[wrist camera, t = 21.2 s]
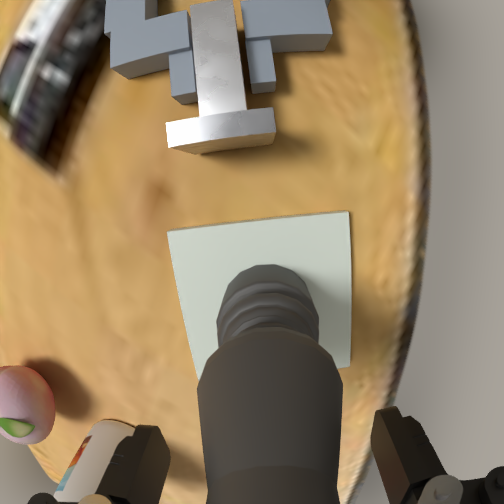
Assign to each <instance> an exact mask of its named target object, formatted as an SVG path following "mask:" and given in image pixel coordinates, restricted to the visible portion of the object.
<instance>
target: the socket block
mask: <svg viewBox="0 0 504 504" xmlns="http://www.w3.org/2000/svg"><path fill="white" fill-rule="evenodd" d="M240 2H241V10H242V17H243V24H244V31H245V38H246V41H245V43H246V51H247V58H248V66H249V73H250V81H251V89H252V94H256V93H266V92H275V86H276V75H275V69H274V62H273V56H272V53H277V52H294V51H324V50H325V48H326V46H327V44H328V42H329V40H330V38H331V36H332V35H333V32H332V28H331V24H330V20H329V16H328V11H327V7H328V5H329V2H330V0H246V1H240ZM104 34H105V35H106V36H108V37H109V38H110V39H111V42H110V68H111V69H113V70H115V71H116V72H118V73H119V74H121V75H122V76H124V77H126V78H127V79H131V78H134V77H138V76H142V75H145V74H149V73H153V72H157V71H161V70H165V69H170V82H171V94H172V97H173V98H174V99H175V100H177V101H178V102H179V103H180V104H181V105H183V104H188V103H194V102H198V94H197V84H196V73H195V62H194V51H193V39H192V27H191V18H190V16H189V14H188V12H187V10H184V11H179V12H175V13H171V14H167V15H163V16H159V17H158V2H157V0H106V10H105V29H104Z"/></svg>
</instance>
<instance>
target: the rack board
mask: <svg viewBox="0 0 504 504" xmlns="http://www.w3.org/2000/svg"><path fill="white" fill-rule="evenodd" d="M167 235H168V241H169V247H170V253H171V259H172V264H173V269H174V275H175V280H176V285H177V290H178V295H179V300H180V305H181V309H182V314H183V318H184V323H185V327H186V332H187V336H188V340H189V345H190V349H191V353H192V357H193V361H194V365H195V369H196V373H197V377H198V381H199V380H200V377H201V375H202V372H203V369H204V366H205V364H206V361H207V359H208V358H209V357H210V356H211V355H212V354H213V353H214V352H215V351H216V350H217V349H218V339H217V324H216V320H217V317H218V313H219V310H220V307H221V303H222V300H223V297H224V294H225V292H226V289H227V286H228V284H229V283H230V282H231V281H232V280H233V279H234V278H235V277H236V276H237V275H238V274H239V273H240V272H241V271H244V270H246V269H248V268H251V267H253V266H255V265H266V264H276V265H279V266H282V267H284V268H287V269H290V270H292V271H293V272H295V273H296V274H297V275H298V276H299V277H300V278H301V279H302V280H303V281H304V282H305V284H306V286H307V288H308V291H309V293H310V295H311V298H312V300H313V303H314V305H315V308H316V311H317V313H318V316H319V345H320V346H322V347H323V348H324V349H325V350H326V351H327V352H328V353H329V354H331V355H332V358H333V360H334V362H335V365H336V367H337V369H338V368H345V367H350V351H351V306H352V293H351V247H350V226H349V212H347V211H345V210H343V211H331V212H320V213H310V214H300V215H290V216H280V217H270V218H261V219H252V220H243V221H234V222H225V223H217V224H209V225H200V226H192V227H184V228H177V229H171V230H169V231H167Z"/></svg>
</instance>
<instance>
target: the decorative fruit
mask: <svg viewBox="0 0 504 504" xmlns="http://www.w3.org/2000/svg"><path fill="white" fill-rule="evenodd" d="M54 421H55V401H54V396H53V393H52V390H51V388H50V386H49V385H48V383H47V382H46V381H45V379H44V378H43V377H42V376H41V375H40V374H39V373H37V372H36V371H34V370H33V369H31V368H28V367H25V366H3V367H0V433H1V434H2V435H3V436H5V437H6V438H7V439H9V440H11V441H13V442H16V443H20V444H37V443H39V442H41V441H43V440H44V439H45V438H46V437H47V436H48V435H49V434H50V432H51V430H52V428H53V425H54Z"/></svg>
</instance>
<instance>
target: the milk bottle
mask: <svg viewBox="0 0 504 504" xmlns="http://www.w3.org/2000/svg"><path fill="white" fill-rule="evenodd" d="M134 431H135V428H133V427H131V426H129V425H127V424H125V423H121V422H119V421H114V420H102V421H99V422H97V423H96V424H94V425H93V427H92V428H91V430H90V431H89V433H88V435H87V436H86V438H85V440H84V441H83V443H82V445H81V446H80V448H79V450H78V451H77V453H76V455H75V457H74V458H73V460H72V462H71V464H70V465H69V467H68V469H67V471H66V473H65V474H64V476H63V478H62V480H61V482H60V484H59V486H58V488H57V490H56V492H55V494H54V496H53V497H54V498H55V499H56V500H57V501H58V502H79V501H80V500H81V499H82V498H84V497H85V496H88V495H91V494H94V493H95V492H96V490H97V488H98V486H99V484H100V481H101V479H102V477H103V475H104V473H105V470H106V468H107V466H108V464H110V460H111V458H112V456H113V453H114V451H115V449H116V447H117V445H118V443H119V442H121V441H122V440H123V439H124V438H125V437H126V436H132V435H133V433H134Z"/></svg>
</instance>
